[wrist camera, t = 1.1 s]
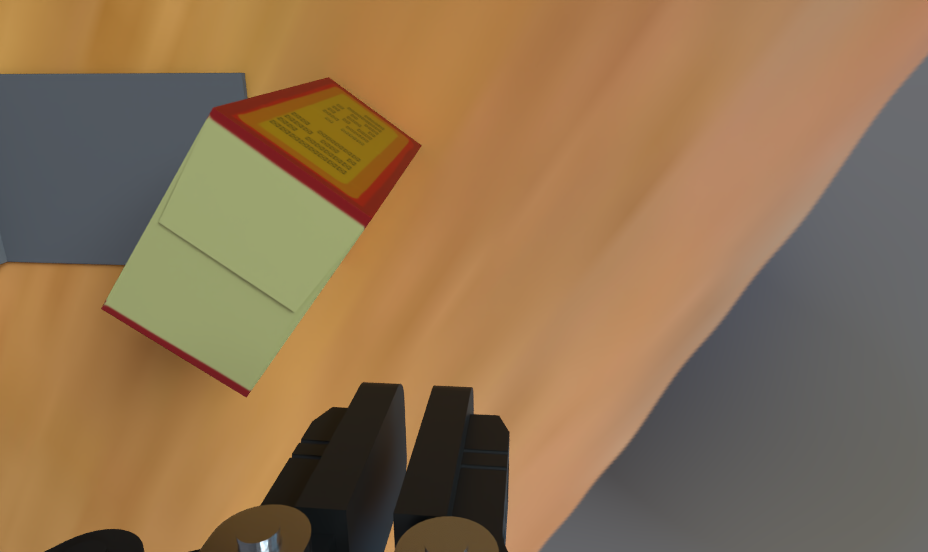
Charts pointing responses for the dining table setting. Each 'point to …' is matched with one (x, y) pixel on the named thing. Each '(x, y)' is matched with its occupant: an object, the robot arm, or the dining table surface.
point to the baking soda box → (258, 225)
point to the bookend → (95, 157)
